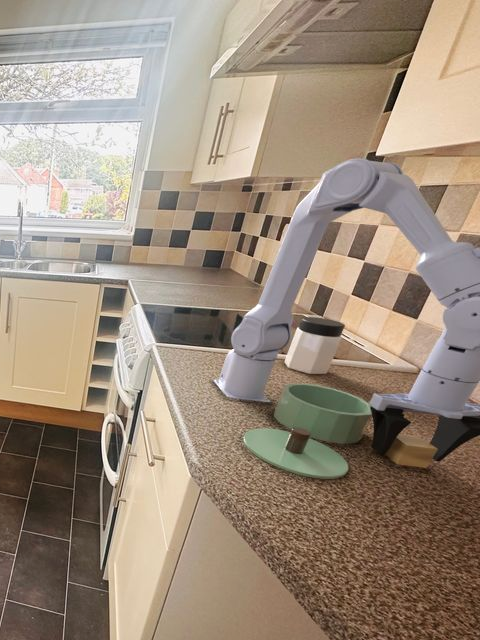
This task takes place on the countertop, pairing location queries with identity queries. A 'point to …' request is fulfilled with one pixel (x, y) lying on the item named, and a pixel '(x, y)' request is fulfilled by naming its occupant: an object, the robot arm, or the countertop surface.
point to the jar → (314, 345)
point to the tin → (323, 412)
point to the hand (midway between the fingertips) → (405, 454)
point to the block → (411, 451)
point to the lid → (295, 452)
